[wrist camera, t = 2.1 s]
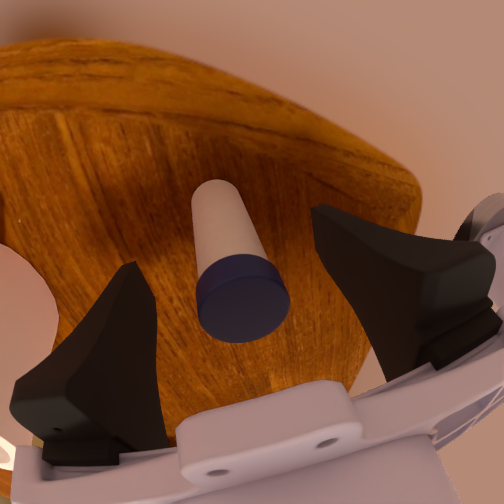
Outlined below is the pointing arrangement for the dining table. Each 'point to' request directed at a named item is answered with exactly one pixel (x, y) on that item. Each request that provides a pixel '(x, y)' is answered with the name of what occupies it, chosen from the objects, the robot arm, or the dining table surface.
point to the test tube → (233, 269)
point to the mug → (21, 339)
